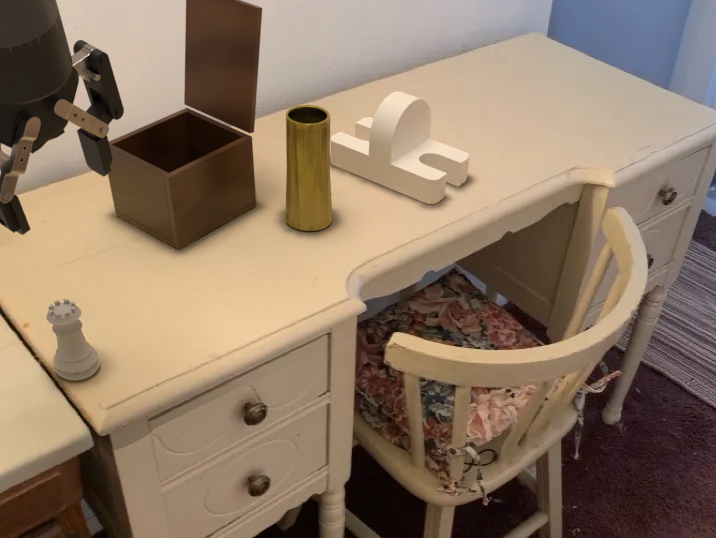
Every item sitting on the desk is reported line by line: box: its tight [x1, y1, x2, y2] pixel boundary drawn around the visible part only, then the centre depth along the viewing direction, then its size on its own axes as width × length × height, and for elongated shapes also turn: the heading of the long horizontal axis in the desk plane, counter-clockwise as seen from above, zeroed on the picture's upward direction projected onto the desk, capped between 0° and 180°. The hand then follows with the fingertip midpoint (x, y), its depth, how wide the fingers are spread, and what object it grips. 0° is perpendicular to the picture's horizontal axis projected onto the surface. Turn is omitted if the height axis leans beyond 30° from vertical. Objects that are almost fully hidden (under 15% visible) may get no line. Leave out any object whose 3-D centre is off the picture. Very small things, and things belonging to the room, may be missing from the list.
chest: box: [107, 107, 257, 250], centre depth 105 cm, size 14×12×10 cm
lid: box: [183, 0, 263, 134], centre depth 101 cm, size 14×12×1 cm
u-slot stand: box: [330, 90, 471, 205], centre depth 114 cm, size 10×18×11 cm, turn 54°
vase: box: [284, 104, 334, 232], centre depth 103 cm, size 6×6×14 cm
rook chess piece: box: [45, 298, 101, 382], centre depth 83 cm, size 4×4×8 cm
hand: (60, 198), depth 67 cm, fingers open, 8 cm apart
